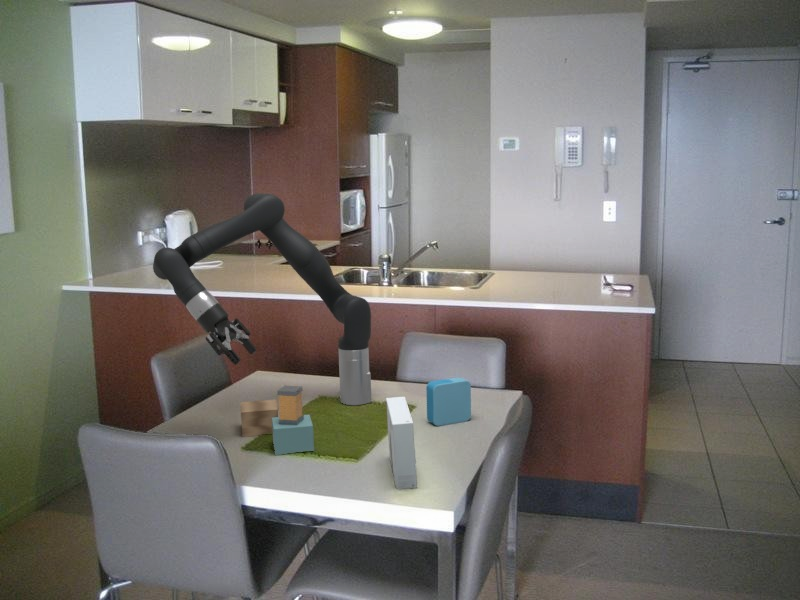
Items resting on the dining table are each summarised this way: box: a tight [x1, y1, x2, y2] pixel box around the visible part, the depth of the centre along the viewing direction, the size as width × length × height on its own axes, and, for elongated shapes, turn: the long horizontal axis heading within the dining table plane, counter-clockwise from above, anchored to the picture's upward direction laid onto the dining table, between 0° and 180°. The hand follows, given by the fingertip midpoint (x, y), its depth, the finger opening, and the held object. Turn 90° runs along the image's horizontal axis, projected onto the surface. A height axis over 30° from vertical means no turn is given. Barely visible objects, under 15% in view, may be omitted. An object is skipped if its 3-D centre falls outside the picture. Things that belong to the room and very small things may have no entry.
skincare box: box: [385, 396, 418, 490], centre depth 204 cm, size 21×6×16 cm, turn 5°
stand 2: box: [272, 414, 315, 456], centre depth 224 cm, size 10×10×7 cm
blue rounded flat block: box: [425, 376, 472, 427], centre depth 242 cm, size 12×4×12 cm, turn 115°
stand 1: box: [240, 399, 279, 438], centre depth 239 cm, size 10×10×7 cm
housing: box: [276, 385, 305, 425], centre depth 223 cm, size 5×5×9 cm
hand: (246, 357), depth 227 cm, fingers open, 8 cm apart
